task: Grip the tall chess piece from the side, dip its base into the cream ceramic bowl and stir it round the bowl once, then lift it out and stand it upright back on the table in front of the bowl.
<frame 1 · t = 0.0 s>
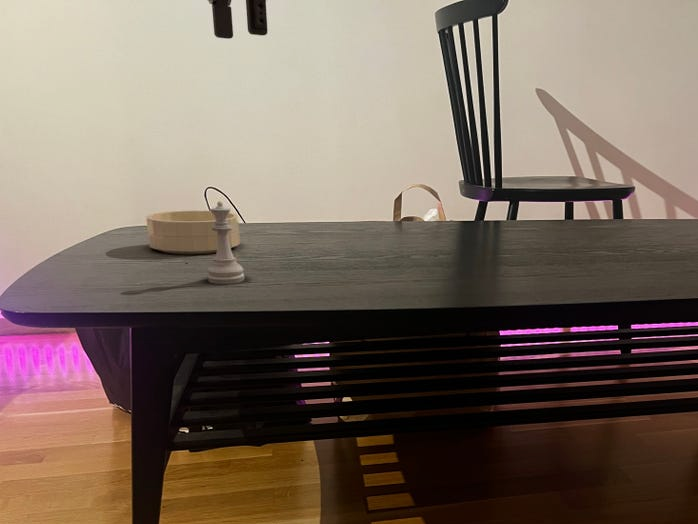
hand: (240, 36, 86), 29 cm above the table, tool pointing down, fingers open, 8 cm apart
bowl: (195, 247, 110), on the table
chess piece: (226, 282, 90), on the table
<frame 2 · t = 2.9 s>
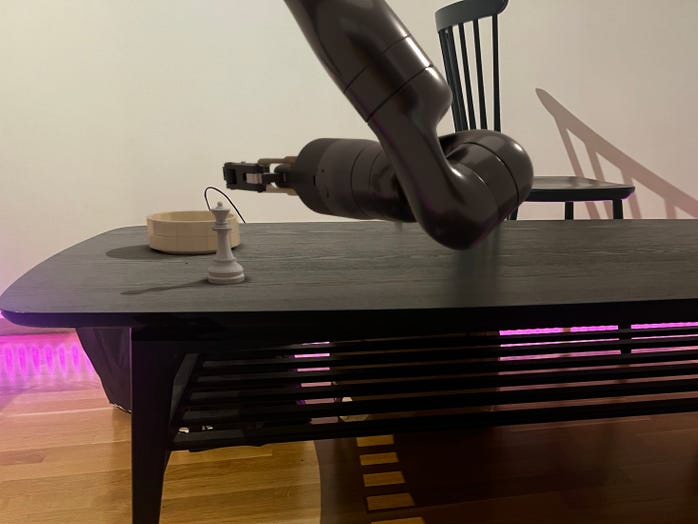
hand: (263, 171, 78), 14 cm above the table, tool horizontal, fingers open, 8 cm apart
nothing on the table moved.
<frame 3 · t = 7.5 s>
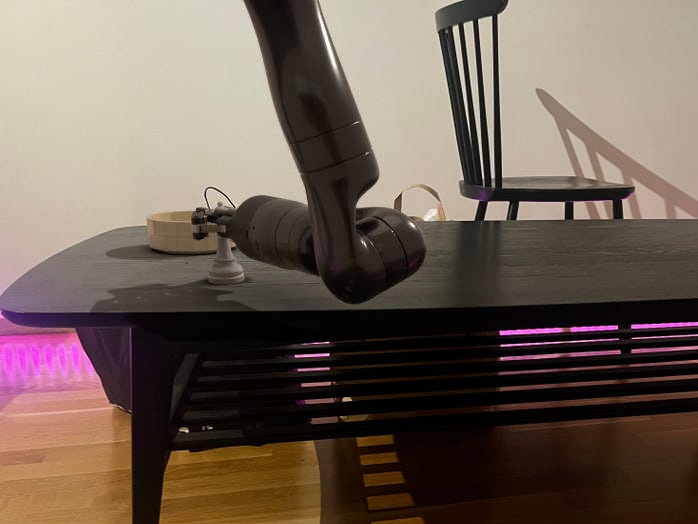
hand: (210, 215, 89), 8 cm above the table, tool horizontal, fingers closed on chess piece, 2 cm apart
chess piece: (226, 282, 90), on the table, touching gripper
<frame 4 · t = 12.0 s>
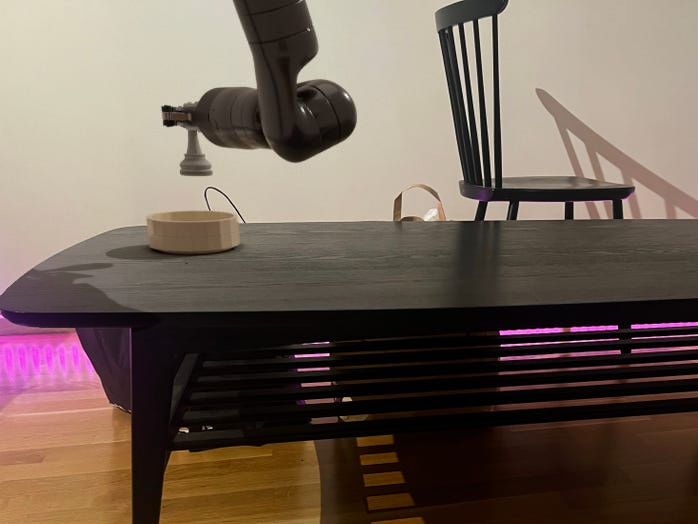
hand: (182, 116, 101), 20 cm above the table, tool horizontal, fingers closed on chess piece, 2 cm apart
chess piece: (196, 176, 101), point 11 cm above the table, touching gripper
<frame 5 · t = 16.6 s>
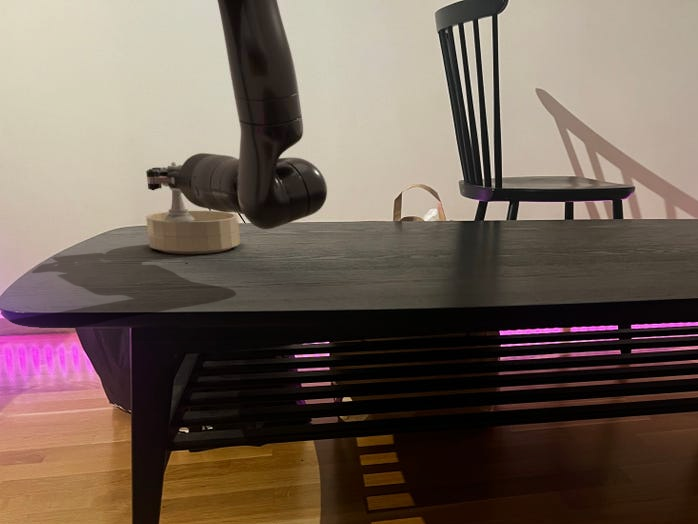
hand: (166, 174, 107), 11 cm above the table, tool horizontal, fingers closed on chess piece, 2 cm apart
chess piece: (180, 230, 108), point 3 cm above the table, touching gripper
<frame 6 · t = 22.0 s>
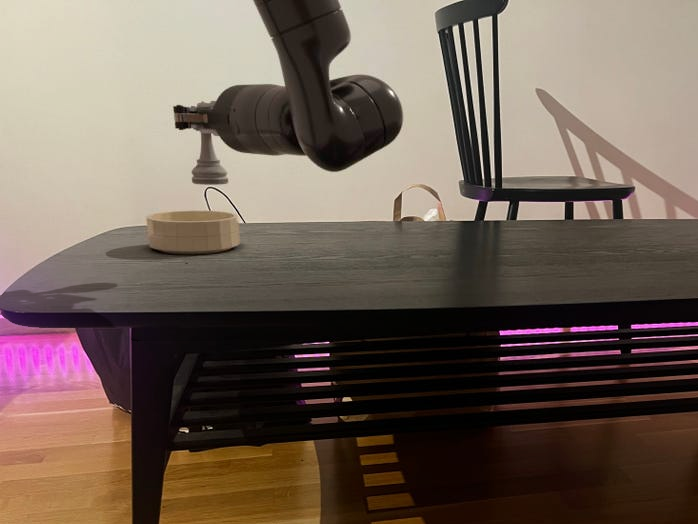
hand: (193, 117, 90), 20 cm above the table, tool horizontal, fingers closed on chess piece, 2 cm apart
chess piece: (210, 185, 91), point 11 cm above the table, touching gripper
when the fingers open (8 cm above the table, at t = 26.1 s): chess piece stays where it is, on the table.
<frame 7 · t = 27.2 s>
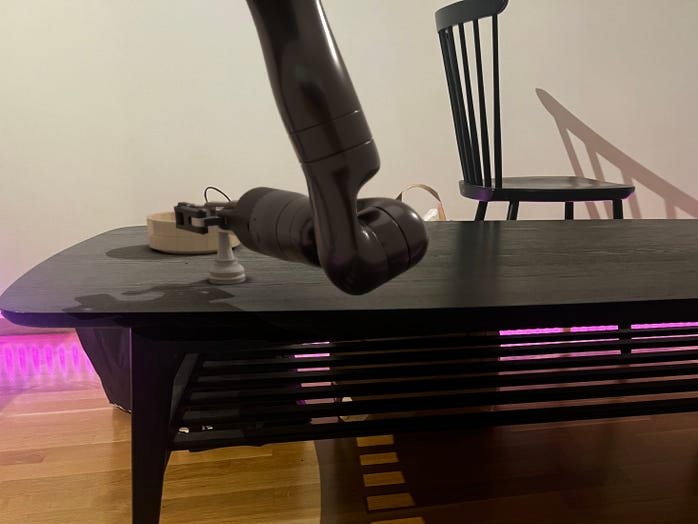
hand: (214, 208, 88), 9 cm above the table, tool horizontal, fingers open, 8 cm apart
chess piece: (227, 282, 90), on the table
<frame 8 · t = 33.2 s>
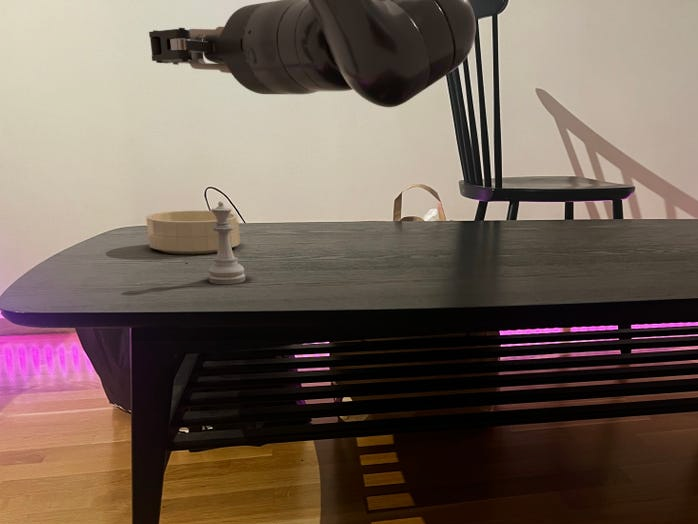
hand: (201, 55, 72), 26 cm above the table, tool horizontal, fingers open, 8 cm apart
nothing on the table moved.
at the end: chess piece inside the target area on the table beside the bowl (0.2 cm from its centre), on the table; chess piece tilted 0°; the gripper is holding nothing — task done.
